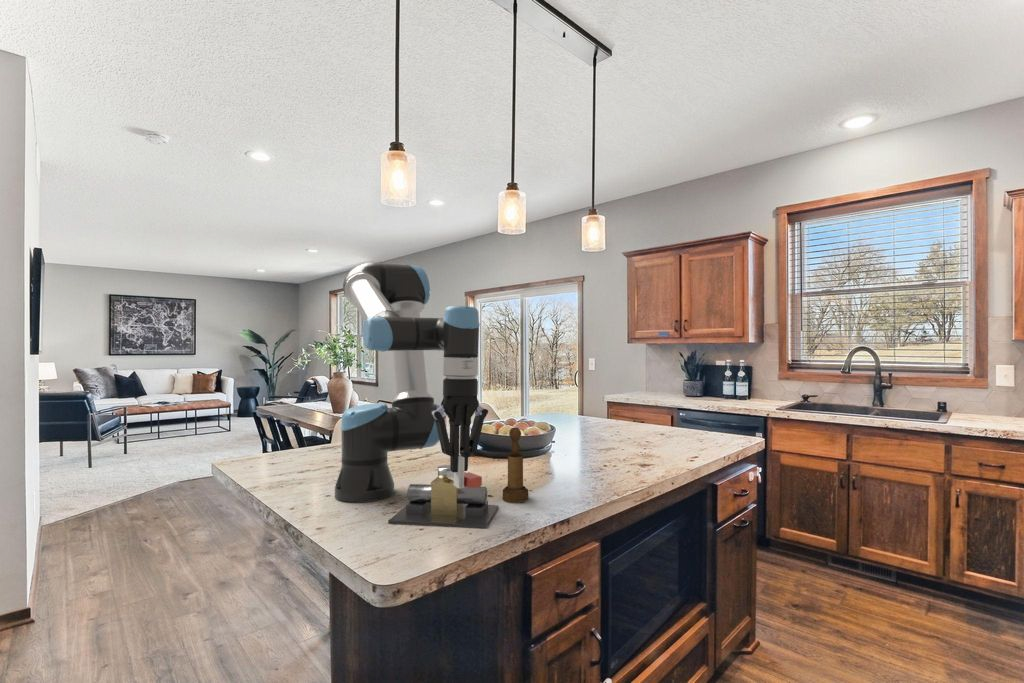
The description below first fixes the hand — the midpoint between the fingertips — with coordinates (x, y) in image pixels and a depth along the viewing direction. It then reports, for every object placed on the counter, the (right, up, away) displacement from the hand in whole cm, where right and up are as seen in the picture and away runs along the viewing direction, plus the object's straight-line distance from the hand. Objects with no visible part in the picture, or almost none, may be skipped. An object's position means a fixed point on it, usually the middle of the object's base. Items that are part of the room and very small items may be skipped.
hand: (458, 486), depth 111 cm
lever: (0, 0, +4) cm, 4 cm away
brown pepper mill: (+12, -9, +19) cm, 24 cm away
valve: (-4, -8, +7) cm, 11 cm away
